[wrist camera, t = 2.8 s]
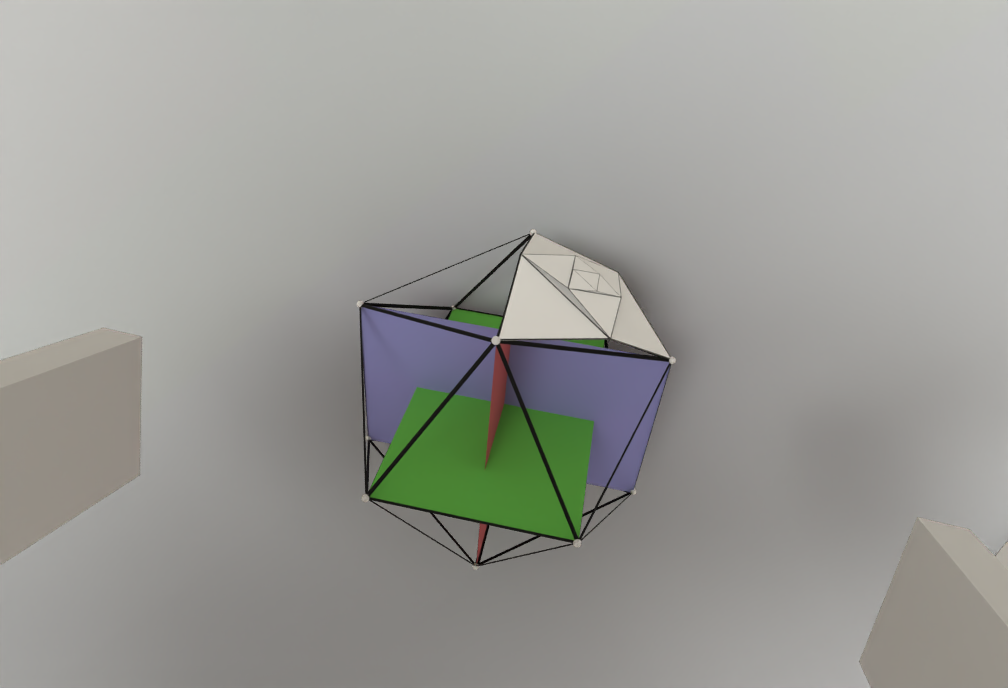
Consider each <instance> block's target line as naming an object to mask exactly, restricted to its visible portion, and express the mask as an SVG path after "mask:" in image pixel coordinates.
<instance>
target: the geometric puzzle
mask: <svg viewBox="0 0 1008 688" xmlns="http://www.w3.org/2000/svg"><path fill="white" fill-rule="evenodd" d="M528 235H529V236H528V237H527V238H526V239H525V240H523V241H522V242H521V243H520V244H519V245H518V246H517V247H516V248H515V249H514V250H513V251H512V252H511V253H510V254H509V255H508V256H507V257H506V258H505V259H503V260H502V261H501V262H500V263H499V264H498V265H497V266H496V267H495V268H494V269H493V270H492V271H491V272H490V273H489V274H488V275H487V276H486V277H485V278H483V279H482V280H481V281H480V282H479V283H478V284H477V285H476V286H475V287H474V288H473V289H472V290H471V291H470V292H469V293H468V294H467V295H466V296H465V297H463V298H462V299H461V300H460V301H459V302H458V303H457V304H456V305H455V306H454V305H453V306H451V307H439V306H419V305H399V304H379V303H365V302H367V301H369V300H367V301H365V302H363V301H361V300H360V301H358V302H357V306H358V307H359V308H360V339H361V371H362V403H363V434H364V466H365V494H364V495H362V497H361V499H362V501H363V502H368V501H371V502H373V501H378V502H383V503H387V504H392V505H397V506H401V507H406V508H411V509H415V510H420V511H425V512H430V514H431V515H432V516H433V517H434V518H435V520H436V521H437V522H438V523H439V524H440V526H441V527H442V528H443V529H444V530H445V531H446V533H447V534H448V535H449V536H450V537H451V539H452V540H453V541H454V542H455V543H456V544H457V546H458V547H459V548H460V549H461V550H462V552H463V553H464V554H465V555H466V556H467V557H468V559H469V560H470V561H471V562H472V563H471V562H470V561H468V560H466V559H465V558H463V557H461V556H460V555H458V554H457V553H455V552H453V551H452V550H450V549H449V548H447V547H445V546H444V545H442V544H441V543H439V542H437V541H436V540H434V539H433V538H431V537H429V536H428V535H426V534H425V533H423V532H421V531H420V530H418V529H417V528H415V527H413V526H412V525H410V524H409V523H407V522H405V521H404V520H402V519H400V518H399V517H397V516H396V515H394V514H392V513H391V512H389V511H388V510H386V509H384V508H383V507H381V506H380V505H378V504H376V503H375V502H373V503H374V504H376V505H377V506H379V507H381V508H382V509H384V510H385V511H387V512H389V513H390V514H392V515H394V516H395V517H397V518H398V519H400V520H402V521H403V522H405V523H406V524H408V525H410V526H411V527H413V528H414V529H416V530H418V531H419V532H421V533H423V534H424V535H426V536H427V537H429V538H431V539H432V540H434V541H435V542H437V543H439V544H440V545H442V546H443V547H445V548H447V549H448V550H450V551H452V552H453V553H455V554H456V555H458V556H460V557H461V558H463V559H464V560H466V561H468V562H469V563H471V564H472V568H473V569H474V570H477V569H478V568H479V566H482V565H486V564H490V563H495V562H499V561H503V560H508V559H512V558H517V557H521V556H525V555H530V554H534V553H539V552H543V551H547V550H552V549H556V548H560V547H565V546H569V545H574V546H575V547H577V548H578V547H580V546H581V544H582V543H581V541H582V540H583V539H584V538H585V537H586V536H587V535H588V534H589V533H590V532H591V531H592V530H593V529H594V528H596V527H597V526H598V525H599V524H600V523H601V522H602V521H603V520H604V519H605V518H606V517H607V516H608V515H610V514H611V513H612V512H613V511H614V510H615V509H616V508H617V507H618V506H619V505H620V504H621V503H622V502H624V501H625V500H626V499H627V498H628V497H629V496H630V495H631V494H632V495H635V494H636V492H637V491H636V489H634V487H635V484H636V481H637V477H638V474H639V471H640V467H641V464H642V461H643V457H644V454H645V451H646V447H647V444H648V441H649V437H650V434H651V431H652V427H653V424H654V420H655V417H656V414H657V410H658V407H659V404H660V400H661V397H662V394H663V390H664V387H665V384H666V380H667V377H668V374H669V370H670V367H671V364H674V363H675V362H676V359H675V357H673V356H671V357H670V355H669V354H668V352H667V351H666V349H665V347H664V346H663V344H662V342H661V341H660V339H659V338H658V336H657V334H656V333H655V331H654V329H653V328H652V326H651V324H650V323H649V321H648V320H647V318H646V316H645V315H644V313H643V311H642V310H641V308H640V307H639V305H638V303H637V302H636V300H635V298H634V297H633V295H632V293H631V292H630V290H629V289H628V287H627V285H626V284H625V282H624V280H623V279H622V277H621V276H620V274H619V272H617V271H615V270H613V269H610V268H608V267H606V266H604V265H602V264H600V263H598V262H596V261H594V260H592V259H590V258H587V257H585V256H583V255H581V254H579V253H577V252H575V251H573V250H571V249H569V248H566V247H564V246H562V245H560V244H558V243H556V242H554V241H552V240H550V239H548V238H546V237H543V236H541V235H539V234H537V231H536V230H535V229H532V230H530V234H528ZM525 236H527V235H525ZM525 236H523V237H525ZM520 238H522V237H520ZM520 238H518V239H520ZM518 239H516V240H518ZM528 240H529V241H528ZM513 241H515V240H513ZM513 241H511V242H513ZM527 241H528V242H527ZM526 242H527V244H526V245H525V247H524V248H523V250H522V252H521V253H520V256H519V260H518V264H517V267H516V271H515V274H514V278H513V282H512V285H511V289H510V293H509V296H508V300H507V304H506V307H505V311H504V315H503V316H500V315H494V314H489V313H483V312H478V311H472V310H466V309H461V308H457V307H458V306H459V305H460V304H461V303H462V302H463V301H464V300H465V299H466V298H467V297H468V296H469V295H470V294H471V293H473V292H474V291H475V290H476V289H477V288H478V287H479V286H480V285H481V284H482V283H483V282H484V281H485V280H486V279H487V278H488V277H490V276H491V275H492V274H493V273H494V272H495V271H496V270H497V269H498V268H499V267H500V266H501V265H502V264H503V263H504V262H506V261H507V260H508V259H509V258H510V257H511V256H512V255H513V254H514V253H515V252H516V251H517V250H518V249H519V248H520V247H521V246H523V245H524V244H525V243H526ZM508 243H510V242H508ZM508 243H506V244H508ZM503 245H505V244H503ZM503 245H501V246H503ZM501 246H499V247H501ZM496 248H498V247H496ZM496 248H494V249H496ZM491 250H493V249H491ZM491 250H489V251H491ZM486 252H488V251H486ZM486 252H484V253H486ZM484 253H482V254H484ZM479 255H481V254H479ZM479 255H477V256H479ZM474 257H476V256H474ZM474 257H472V258H474ZM469 259H471V258H469ZM469 259H467V260H469ZM467 260H465V261H467ZM462 262H464V261H462ZM462 262H460V263H462ZM457 264H459V263H457ZM457 264H455V265H457ZM452 266H454V265H452ZM452 266H450V267H452ZM450 267H448V268H450ZM445 269H447V268H445ZM445 269H443V270H445ZM440 271H442V270H440ZM440 271H438V272H440ZM435 273H437V272H435ZM435 273H433V274H435ZM433 274H431V275H433ZM428 276H430V275H428ZM428 276H426V277H428ZM423 278H425V277H423ZM423 278H421V279H423ZM418 280H420V279H418ZM418 280H416V281H418ZM416 281H414V282H416ZM411 283H413V282H411ZM411 283H409V284H411ZM406 285H408V284H406ZM406 285H404V286H406ZM401 287H403V286H401ZM401 287H399V288H401ZM399 288H397V289H399ZM394 290H396V289H394ZM394 290H392V291H394ZM389 292H391V291H389ZM389 292H387V293H389ZM384 294H386V293H384ZM384 294H382V295H384ZM382 295H380V296H382ZM377 297H379V296H377ZM377 297H375V298H377ZM372 299H374V298H372ZM372 299H370V300H372ZM380 307H391V308H415V309H439V310H451V311H450V312H449V314H448V315H447V317H446V319H441V318H435V317H430V316H424V315H419V314H413V313H407V312H402V311H396V310H391V309H385V308H380ZM607 340H613V341H616V342H619V343H622V344H625V345H628V346H631V347H634V348H636V349H639V350H642V351H644V352H647V353H650V354H652V355H655V356H648V355H640V354H635V353H629V352H624V351H618V350H613V349H608V346H607ZM604 343H605V348H604ZM657 356H658V357H657ZM363 368H364V379H363ZM364 384H365V399H366V414H367V430H368V435H367V436H366V437H365V410H364ZM365 439H366V440H367V441H368V450H367V471H366V441H365ZM372 441H380V442H385V443H390V446H389V448H388V451H387V453H386V455H385V456H384V455H383V454H382V453H381V451H380V450H379V449H378V448H377V447H376V446H375V444H374V443H373V442H372ZM370 443H371V444H372V445H373V446H374V447H375V449H376V450H377V451H378V452H379V453H380V454H381V456H382V457H383V458H384V459H383V461H382V464H381V466H380V468H379V470H378V472H377V474H376V477H375V479H374V481H373V483H372V485H371V487H370V490H369V491H368V482H369V454H370ZM586 483H587V484H592V485H597V486H602V487H605V489H604V491H603V493H602V495H601V496H600V498H599V500H598V502H597V504H596V506H595V508H594V509H593V510H590V511H588V512H586V513H584V514H582V512H583V504H584V496H585V488H586ZM607 488H612V489H617V490H622V491H624V492H626V493H627V494H624V495H622V496H620V497H618V498H616V499H614V500H612V501H610V502H607V503H605V504H603V505H601V506H599V507H598V505H599V503H600V501H601V499H602V497H603V495H604V493H605V491H606V490H607ZM628 495H629V496H628ZM626 496H628V497H627V498H626V499H624V500H623V501H622V502H621V503H620V504H619V505H618V506H617V507H616V508H615V509H614V510H613V511H611V512H610V513H609V514H608V515H607V516H606V517H605V518H604V519H603V520H602V521H601V522H600V523H598V524H597V525H596V526H595V527H594V528H593V529H592V530H591V531H590V532H589V533H588V534H587V535H585V536H584V537H583V538H582V536H583V534H584V532H585V530H586V528H587V527H588V525H589V523H590V521H591V519H592V517H593V515H594V513H595V511H596V510H598V509H600V508H602V507H604V506H607V505H609V504H611V503H613V502H615V501H617V500H619V499H621V498H623V497H626ZM372 500H373V501H372ZM433 513H434V514H439V515H444V516H448V517H453V518H458V519H463V520H467V521H472V522H477V523H480V529H479V540H478V551H477V558H476V562H474V561H473V560H472V559H471V558H470V557H469V555H468V554H467V553H466V552H465V551H464V549H463V548H462V547H461V546H460V545H459V544H458V542H457V541H456V540H455V539H454V538H453V536H452V535H451V534H450V533H449V532H448V531H447V529H446V528H445V527H444V526H443V525H442V523H441V522H440V521H439V520H438V519H437V518H436V516H435V515H434V514H433ZM590 513H592V514H591V516H590V518H589V520H588V522H587V524H586V526H585V528H584V530H583V531H582V533H581V535H580V527H581V520H582V517H583V516H585V515H587V514H590ZM489 525H491V526H495V527H500V528H505V529H510V530H514V531H519V532H524V533H528V534H533V535H537V536H535V537H533V538H531V539H529V540H527V541H525V542H523V543H520V544H518V545H516V546H514V547H512V548H510V549H508V550H506V551H504V552H501V553H499V554H497V555H495V556H493V557H491V558H489V559H487V560H484V561H482V562H480V560H481V556H482V552H483V548H484V544H485V541H486V537H487V533H488V529H489ZM579 535H580V537H579ZM541 536H542V537H547V538H552V539H557V540H561V541H566V542H571V543H572V544H568V545H564V546H559V547H555V548H551V549H546V550H542V551H538V552H533V553H529V554H525V555H520V556H516V557H512V558H507V559H503V560H499V561H494V562H490V563H486V562H488V561H490V560H492V559H494V558H496V557H498V556H501V555H503V554H505V553H507V552H509V551H511V550H513V549H515V548H518V547H520V546H522V545H524V544H526V543H528V542H530V541H532V540H534V539H537V538H539V537H541ZM581 538H582V539H581ZM484 563H486V564H484Z"/></svg>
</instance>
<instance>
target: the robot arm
mask: <svg viewBox="0 0 1008 688" xmlns="http://www.w3.org/2000/svg"><path fill="white" fill-rule="evenodd" d="M141 377H142V337H141V336H137V335H132V334H128V333H124V332H119V331H115V330H111V329H107V328H101V329H97V330H94V331H91V332H88V333H85V334H82V335H79V336H75V337H72V338H69V339H66V340H63V341H60V342H57V343H53V344H50V345H47V346H44V347H41V348H38V349H35V350H31V351H28V352H25V353H22V354H19V355H16V356H13V357H9V358H6V359H3V360H0V565H2V564H3V563H5V562H6V561H8V560H9V559H11V558H12V557H14V556H16V555H17V554H19V553H20V552H22V551H23V550H25V549H26V548H28V547H29V546H31V545H33V544H34V543H36V542H37V541H39V540H40V539H42V538H43V537H45V536H46V535H48V534H50V533H51V532H53V531H54V530H56V529H57V528H59V527H60V526H62V525H63V524H65V523H67V522H68V521H70V520H71V519H73V518H74V517H76V516H77V515H79V514H81V513H82V512H84V511H85V510H87V509H88V508H90V507H91V506H93V505H94V504H96V503H98V502H99V501H101V500H102V499H104V498H105V497H107V496H108V495H110V494H111V493H113V492H115V491H116V490H118V489H119V488H121V487H122V486H124V485H125V484H127V483H128V482H130V481H132V480H133V479H135V478H136V477H138V476H139V475H140V435H141ZM859 663H860V665H861V667H862V669H863V671H864V673H865V675H866V678H867V680H868V682H869V684H870V686H871V688H1008V570H1007V569H1006V567H1005V566H1004V565H1003V564H1002V563H1001V562H1000V561H999V560H998V559H997V558H996V557H995V556H994V555H993V554H992V553H991V552H990V550H989V549H988V548H987V547H986V546H985V545H984V544H983V543H982V542H981V541H980V540H979V539H978V538H977V537H976V536H975V534H974V533H973V532H972V531H971V530H970V529H966V528H962V527H957V526H953V525H949V524H945V523H940V522H936V521H932V520H927V519H923V518H919V517H917V519H916V522H915V524H914V527H913V529H912V531H911V534H910V536H909V539H908V541H907V544H906V546H905V549H904V551H903V554H902V556H901V559H900V561H899V564H898V566H897V569H896V571H895V574H894V576H893V579H892V581H891V584H890V586H889V589H888V591H887V594H886V596H885V599H884V601H883V604H882V606H881V609H880V611H879V614H878V616H877V618H876V621H875V623H874V626H873V628H872V631H871V633H870V636H869V638H868V641H867V643H866V646H865V648H864V651H863V653H862V656H861V658H860V661H859Z"/></svg>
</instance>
